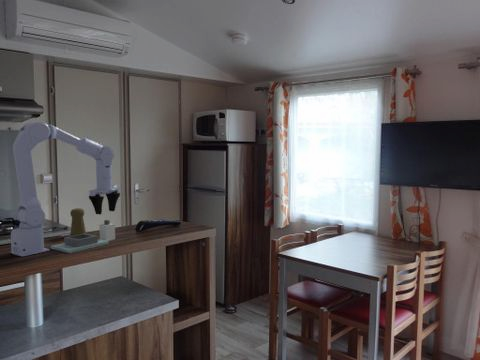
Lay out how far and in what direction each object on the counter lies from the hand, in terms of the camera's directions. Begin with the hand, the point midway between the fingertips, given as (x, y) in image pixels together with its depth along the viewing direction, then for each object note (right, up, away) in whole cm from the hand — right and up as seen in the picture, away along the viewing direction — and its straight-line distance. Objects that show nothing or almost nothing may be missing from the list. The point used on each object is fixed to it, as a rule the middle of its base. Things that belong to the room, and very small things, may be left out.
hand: (105, 212), depth 156 cm
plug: (+1, -10, 0) cm, 10 cm away
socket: (-5, -11, -11) cm, 16 cm away
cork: (-13, -10, +7) cm, 18 cm away
